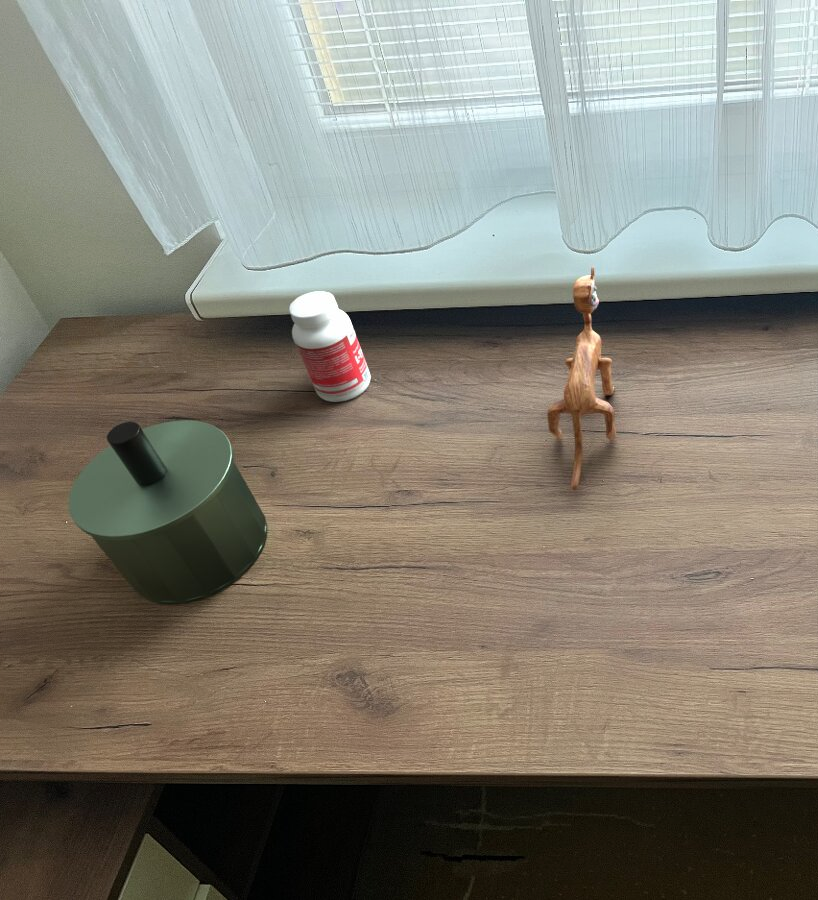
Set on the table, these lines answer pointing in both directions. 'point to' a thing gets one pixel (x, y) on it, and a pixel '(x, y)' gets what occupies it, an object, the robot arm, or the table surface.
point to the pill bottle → (328, 347)
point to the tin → (195, 549)
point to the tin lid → (150, 479)
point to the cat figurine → (584, 377)
